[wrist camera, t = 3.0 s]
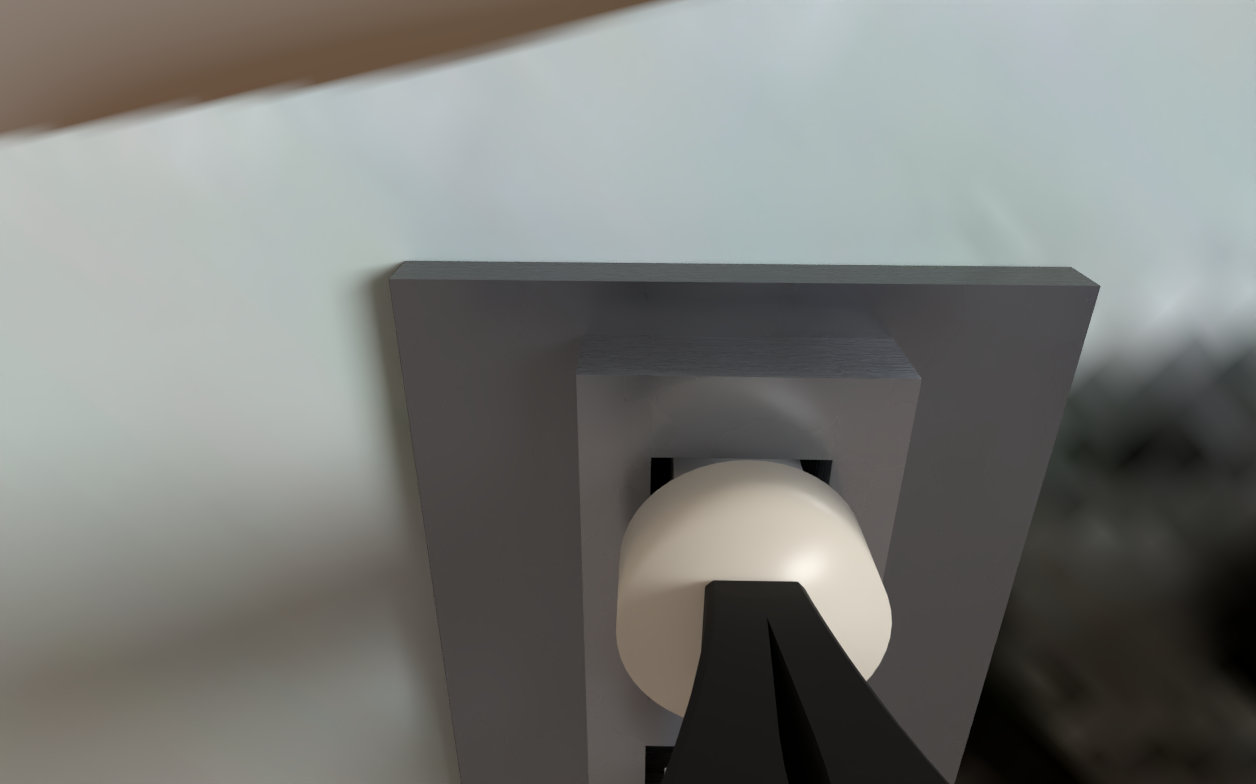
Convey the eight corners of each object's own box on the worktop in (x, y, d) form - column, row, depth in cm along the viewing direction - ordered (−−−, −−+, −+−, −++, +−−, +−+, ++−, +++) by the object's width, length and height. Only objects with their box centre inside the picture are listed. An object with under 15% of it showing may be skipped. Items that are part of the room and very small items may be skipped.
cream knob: (842, 385, 14) (913, 526, 10) (818, 559, 16) (870, 732, 12) (623, 383, 14) (615, 520, 10) (623, 556, 16) (616, 727, 12)
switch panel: (1072, 266, 14) (1155, 321, 12) (883, 955, 24) (909, 1058, 22) (404, 261, 14) (357, 313, 12) (495, 945, 24) (479, 1046, 22)
